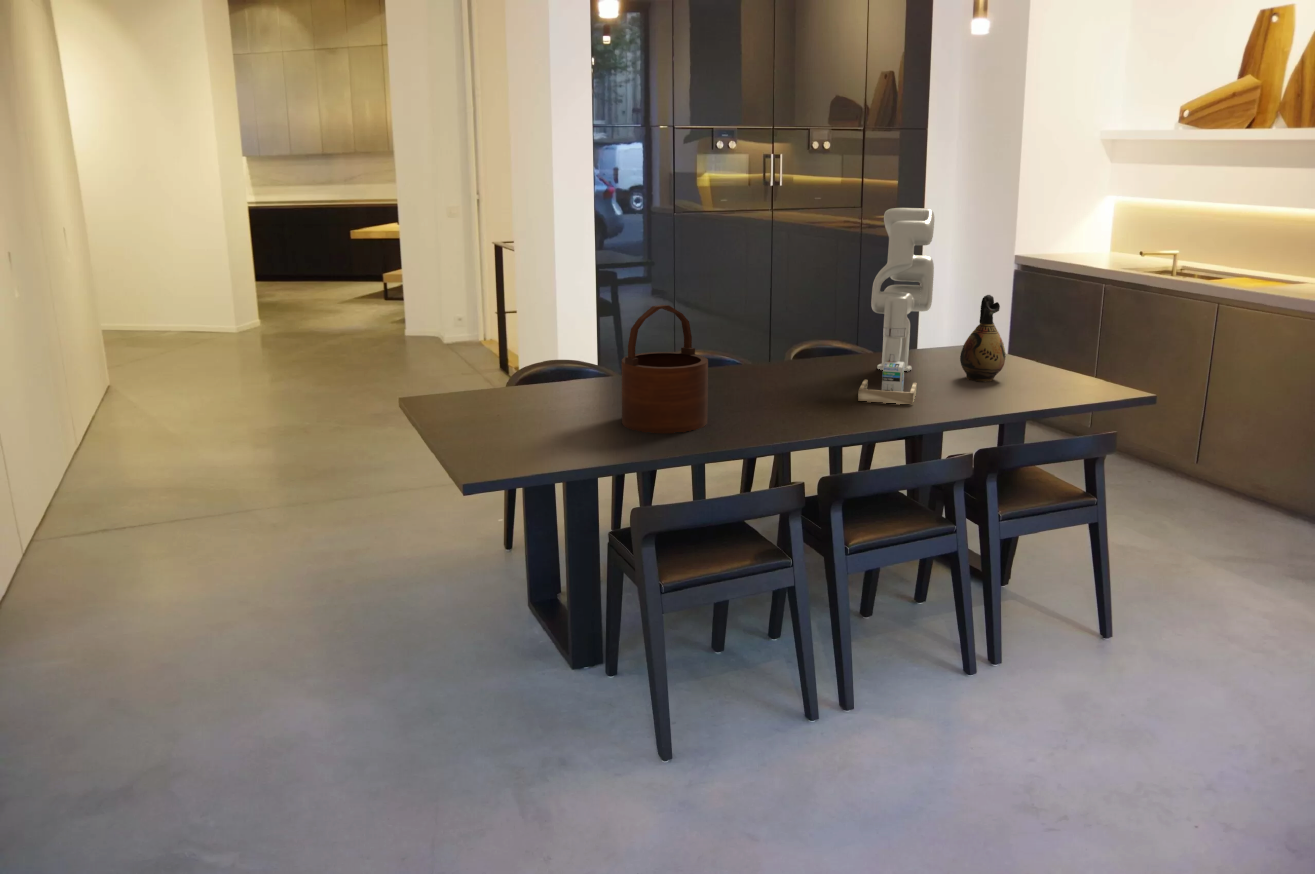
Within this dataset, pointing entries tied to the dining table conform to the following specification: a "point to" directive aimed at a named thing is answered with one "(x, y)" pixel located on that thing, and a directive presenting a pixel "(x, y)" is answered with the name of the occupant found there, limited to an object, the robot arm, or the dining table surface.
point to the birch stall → (886, 395)
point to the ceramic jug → (984, 346)
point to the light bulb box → (893, 376)
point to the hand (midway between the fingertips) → (891, 385)
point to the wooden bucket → (664, 385)
